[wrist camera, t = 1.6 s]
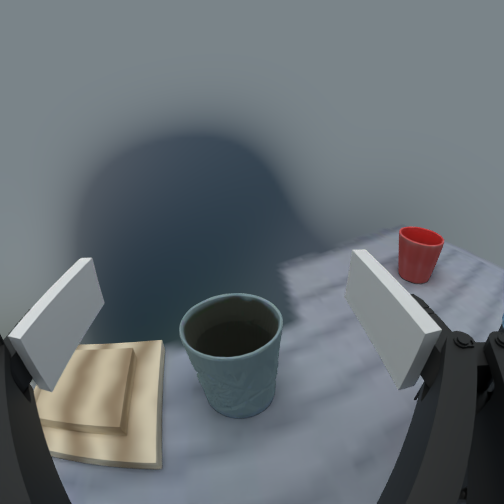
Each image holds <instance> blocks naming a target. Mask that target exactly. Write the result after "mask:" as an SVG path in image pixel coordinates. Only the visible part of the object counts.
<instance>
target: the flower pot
mask: <svg viewBox="0 0 504 504" xmlns="http://www.w3.org/2000/svg"><path fill="white" fill-rule="evenodd" d="M443 244H444V239H443V238H442V237H441V236H440V235H439V234H437V233H436V232H433V231H431V230H428V229H424V228H420V227H404V228H401V229H400V231H399V275H400V276H401V277H402V278H403V279H405V280H407V281H410V282H412V283H418V284H421V283H425V282H427V281H428V280H429V278H430V276H431V274H432V272H433V269H434V267H435V265H436V262H437V260H438V258H439V255H440V253H441V250H442V247H443Z"/></svg>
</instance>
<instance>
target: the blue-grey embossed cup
mask: <svg viewBox="0 0 504 504" xmlns="http://www.w3.org/2000/svg"><path fill="white" fill-rule="evenodd" d="M282 327H283V320H282V315H281V313H280V311H279V310H278V309H277V307H276V306H275V305H273V304H272V303H271V302H269V301H267V300H266V299H264V298H261V297H258V296H255V295H250V294H243V293H232V294H223V295H219V296H215V297H211V298H208V299H207V300H205V301H203V302H201V303H199V304H197V305H195V306H194V307H192V308H191V309H190V310H189V311H188V312H187V313H186V314H185V315H184V317H183V319H182V321H181V323H180V331H179V332H180V338H181V341H182V343H183V345H184V347H185V350H186V352H187V354H188V356H189V359H190V361H191V363H192V365H193V367H194V369H195V370H196V372H198V373H197V377H198V379H199V382H200V383H201V385H202V387H203V389H204V392H205V394H206V397H207V399H208V401H209V403H210V404H211V406H212V407H213V408H214V409H215V410H216V411H217V412H219V413H221V414H223V415H225V416H227V417H232V418H247V417H252V416H255V415H257V414H259V413H261V412H262V411H264V410H265V409H266V408H267V407H268V406H269V404H270V403H271V401H272V400H273V397H274V393H275V385H276V381H275V379H276V375H277V368H278V356H279V348H280V340H281V334H282Z"/></svg>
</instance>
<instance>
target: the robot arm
mask: <svg viewBox="0 0 504 504" xmlns="http://www.w3.org/2000/svg"><path fill="white" fill-rule="evenodd" d="M345 299H346V301H347V302H348V304H349V305H350V307H351V309H352V310H353V312H354V314H355V315H356V317H357V319H358V320H359V322H360V323H361V325H362V327H363V329H364V330H365V332H366V334H367V335H368V337H369V339H370V340H371V342H372V344H373V346H374V347H375V349H376V351H377V352H378V354H379V356H380V358H381V360H382V361H383V363H384V365H385V367H386V368H387V370H388V372H389V374H390V376H391V377H392V379H393V381H394V383H395V385H396V387H397V389H398V390H401V389H404V388H408V387H411V386H414V385H415V383H416V382H417V380H418V378H419V376H420V375H421V376H422V378H423V379H424V383H423V385H422V386H421V388H420V390H419V391H418V393H417V395H416V396H415V398H414V400H417V398H418V401H417V404H416V408H415V411H414V415H413V418H412V421H411V424H410V427H409V430H408V433H407V436H406V439H405V441H404V444H403V447H402V449H401V452H400V454H399V457H398V459H397V462H396V464H395V467H394V469H393V471H392V473H391V476H390V478H389V480H388V482H387V484H386V486H385V488H384V490H383V492H382V494H381V496H380V498H379V500H378V502H377V504H504V314H503V317H502V320H503V322H502V325H501V327H500V329H499V331H498V332H497V331H496V332H492V333H490V335H489V337H488V339H487V341H486V342H475V341H474V340H473V338H472V337H470V336H469V335H468V334H466V333H463V332H460V331H454V332H452V331H451V330H450V329H449V328H448V327H447V326H446V325H445V323H444V322H443V321H442V320H441V319H440V318H439V317H438V316H437V315H436V314H434V311H433V310H432V309H431V308H429V306H428V305H427V304H426V303H425V302H424V301H423V300H422V299H421V298H419V297H417V296H416V295H414V294H409V293H408V292H407V291H406V290H405V289H404V287H403V286H402V285H401V284H400V283H399V282H398V281H397V280H396V279H395V278H394V277H393V276H392V275H391V274H390V273H389V272H388V271H387V270H386V269H385V268H384V267H383V266H382V265H381V264H380V263H379V262H378V261H377V260H376V259H375V258H374V257H373V256H372V255H371V254H370V253H369V252H368V251H367V250H352V255H351V261H350V268H349V274H348V280H347V286H346V292H345ZM103 305H104V300H103V297H102V293H101V290H100V286H99V283H98V279H97V275H96V271H95V267H94V263H93V259H92V258H80V259H79V260H78V261H77V262H76V263H75V264H74V265H73V266H72V267H71V268H70V269H69V270H68V271H67V272H66V273H65V274H64V275H63V276H62V277H61V278H60V279H59V280H58V281H57V282H56V283H55V284H54V285H53V286H52V287H51V288H50V289H49V290H48V291H47V292H46V293H45V294H44V295H43V296H42V297H41V299H40V300H39V301H38V302H37V303H36V304H35V305H34V306H33V307H32V308H31V309H30V310H29V311H28V312H27V313H26V314H25V315H24V317H23V318H22V319H21V320H20V321H19V323H17V324H16V326H15V327H14V328H13V329H12V330H11V332H10V333H9V334H8V335H7V336H6V338H5V339H4V340H3V339H2V337H1V335H0V504H71V502H70V500H69V498H68V496H67V494H66V491H65V489H64V487H63V485H62V482H61V480H60V478H59V475H58V473H57V470H56V468H55V465H54V463H53V460H52V457H51V454H50V451H49V448H48V445H47V442H46V439H45V436H44V432H43V429H42V425H41V422H40V418H39V414H38V409H37V405H36V401H35V396H34V391H33V388H32V386H31V385H30V382H31V380H32V379H33V380H34V381H35V383H36V384H37V386H38V387H39V389H42V390H46V391H49V392H53V390H54V388H55V386H56V384H57V382H58V380H59V378H60V377H61V375H62V373H63V371H64V369H65V367H66V366H67V364H68V362H69V360H70V359H71V357H72V355H73V353H74V352H75V350H76V348H77V346H78V345H79V343H80V341H81V340H82V338H83V336H84V335H85V333H86V332H87V330H88V328H89V327H90V325H91V323H92V322H93V320H94V318H95V317H96V315H97V314H98V312H99V311H100V309H101V308H102V306H103Z"/></svg>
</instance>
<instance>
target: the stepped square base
mask: <svg viewBox="0 0 504 504" xmlns="http://www.w3.org/2000/svg"><path fill="white" fill-rule="evenodd" d="M164 357H165V348H164V345H163V342H162V340H157V341H145V342H131V343H114V344H91V345H90V344H89V345H78V346H77V348H76V350H75V352H74V353H73V355H72V357H71V359H70V360H69V362H68V364H67V366H66V367H65V369H64V371H63V373H62V375H61V377H60V378H59V380H58V382H57V384H56V386H55V388H54V390H53V392H49V391H46V390H42V389H39V387H38V386H37V385H36V387H35V389H34V396H35V401H36V405H37V409H38V414H39V418H40V422H41V425H42V429H43V432H44V436H45V439H46V442H47V445H48V448H49V451H50V454H51V456H53V457H57V458H61V459H66V460H71V461H76V462H82V463H88V464H95V465H102V466H111V467H122V468H136V469H162V394H163V373H164Z"/></svg>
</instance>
